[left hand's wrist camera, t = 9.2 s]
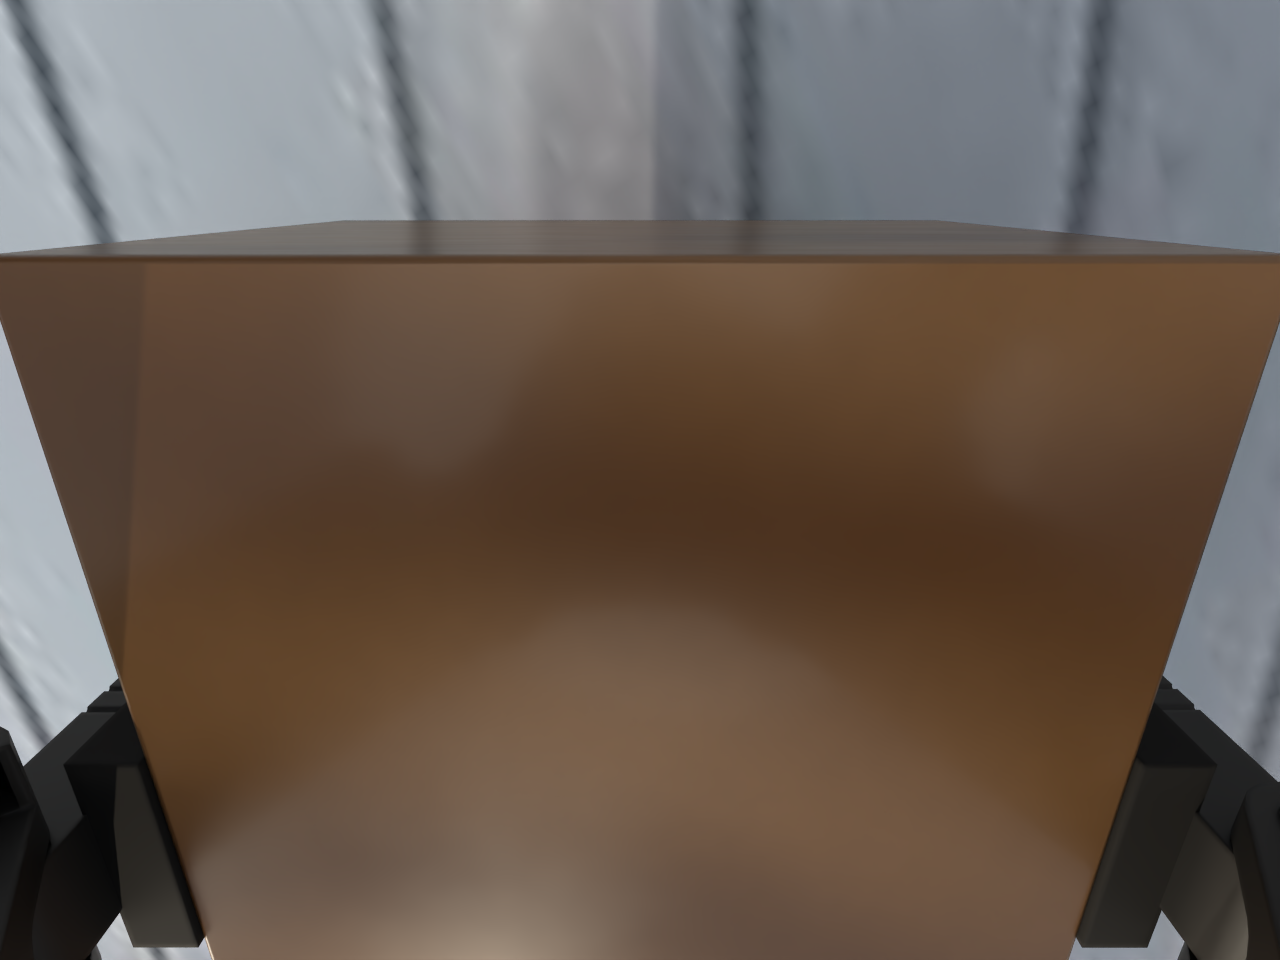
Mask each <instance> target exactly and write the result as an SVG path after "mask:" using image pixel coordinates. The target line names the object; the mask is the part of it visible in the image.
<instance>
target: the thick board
mask: <svg viewBox="0 0 1280 960" xmlns="http://www.w3.org/2000/svg"><path fill="white" fill-rule="evenodd" d="M0 321H1V324H2V327H3V330H4V333H5V336H6V339H7V342H8V345H9V348H10V351H11V354H12V357H13V360H14V363H15V367H16V370H17V373H18V376H19V379H20V382H21V385H22V388H23V391H24V394H25V397H26V400H27V403H28V406H29V409H30V412H31V415H32V418H33V421H34V424H35V427H36V430H37V433H38V436H39V439H40V442H41V445H42V448H43V451H44V454H45V457H46V460H47V463H48V466H49V469H50V472H51V475H52V478H53V481H54V484H55V487H56V490H57V493H58V496H59V499H60V502H61V505H62V508H63V511H64V514H65V517H66V520H67V524H68V527H69V530H70V533H71V536H72V539H73V542H74V545H75V548H76V551H77V554H78V557H79V560H80V563H81V566H82V569H83V572H84V575H85V578H86V581H87V584H88V587H89V590H90V593H91V596H92V599H93V602H94V605H95V608H96V611H97V614H98V617H99V620H100V623H101V626H102V629H103V632H104V635H105V638H106V641H107V644H108V647H109V650H110V653H111V656H112V659H113V662H114V665H115V668H116V671H117V674H118V677H119V680H120V684H121V687H122V690H123V693H124V696H125V699H126V702H127V705H128V708H129V711H130V714H131V717H132V720H133V723H134V726H135V729H136V732H137V735H138V738H139V741H140V744H141V747H142V750H143V753H144V756H145V759H146V762H147V765H148V768H149V771H150V774H151V777H152V780H153V783H154V786H155V789H156V792H157V795H158V798H159V801H160V804H161V807H162V810H163V813H164V816H165V819H166V822H167V825H168V828H169V831H170V834H171V837H172V841H173V844H174V847H175V850H176V853H177V856H178V859H179V862H180V865H181V868H182V871H183V874H184V877H185V880H186V883H187V886H188V889H189V892H190V895H191V898H192V901H193V904H194V907H195V910H196V913H197V916H198V919H199V922H200V925H201V928H202V931H203V934H204V937H205V940H206V943H207V946H208V949H209V952H210V955H211V958H212V960H1068V959H1069V956H1070V953H1071V950H1072V947H1073V944H1074V941H1075V938H1076V935H1077V932H1078V929H1079V926H1080V923H1081V920H1082V917H1083V914H1084V911H1085V908H1086V905H1087V902H1088V899H1089V896H1090V893H1091V890H1092V887H1093V884H1094V881H1095V878H1096V875H1097V872H1098V869H1099V866H1100V863H1101V860H1102V857H1103V854H1104V851H1105V848H1106V845H1107V842H1108V839H1109V836H1110V833H1111V830H1112V826H1113V823H1114V820H1115V817H1116V814H1117V811H1118V808H1119V805H1120V802H1121V799H1122V796H1123V793H1124V790H1125V787H1126V784H1127V781H1128V778H1129V775H1130V772H1131V769H1132V766H1133V763H1134V760H1135V757H1136V754H1137V751H1138V748H1139V745H1140V742H1141V739H1142V736H1143V733H1144V730H1145V727H1146V724H1147V721H1148V718H1149V715H1150V712H1151V709H1152V706H1153V703H1154V700H1155V697H1156V694H1157V691H1158V688H1159V685H1160V682H1161V679H1162V675H1163V672H1164V669H1165V666H1166V663H1167V660H1168V657H1169V654H1170V651H1171V648H1172V645H1173V642H1174V639H1175V636H1176V633H1177V630H1178V627H1179V624H1180V621H1181V618H1182V615H1183V612H1184V609H1185V606H1186V603H1187V600H1188V597H1189V594H1190V591H1191V588H1192V585H1193V582H1194V579H1195V576H1196V573H1197V570H1198V567H1199V564H1200V561H1201V558H1202V555H1203V552H1204V549H1205V546H1206V543H1207V540H1208V537H1209V534H1210V531H1211V528H1212V524H1213V521H1214V518H1215V515H1216V512H1217V509H1218V506H1219V503H1220V500H1221V497H1222V494H1223V491H1224V488H1225V485H1226V482H1227V479H1228V476H1229V473H1230V470H1231V467H1232V464H1233V461H1234V458H1235V455H1236V452H1237V449H1238V446H1239V443H1240V440H1241V437H1242V434H1243V431H1244V428H1245V425H1246V422H1247V419H1248V416H1249V413H1250V410H1251V407H1252V404H1253V401H1254V398H1255V395H1256V392H1257V389H1258V386H1259V383H1260V380H1261V376H1262V373H1263V370H1264V367H1265V364H1266V361H1267V358H1268V355H1269V352H1270V349H1271V346H1272V343H1273V340H1274V337H1275V334H1276V331H1277V328H1278V325H1279V322H1280V253H1271V252H1260V251H1250V250H1239V249H1229V248H1219V247H1208V246H1198V245H1187V244H1177V243H1166V242H1156V241H1145V240H1135V239H1125V238H1114V237H1104V236H1093V235H1083V234H1072V233H1062V232H1051V231H1041V230H1031V229H1020V228H1010V227H999V226H989V225H978V224H968V223H957V222H947V221H936V220H419V221H334V222H324V223H313V224H303V225H292V226H282V227H272V228H261V229H251V230H241V231H230V232H220V233H209V234H199V235H189V236H178V237H168V238H157V239H147V240H137V241H126V242H116V243H105V244H95V245H85V246H74V247H64V248H54V249H43V250H33V251H22V252H12V253H2V254H0Z"/></svg>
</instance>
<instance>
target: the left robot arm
mask: <svg viewBox="0 0 1280 960" xmlns="http://www.w3.org/2000/svg"><path fill="white" fill-rule="evenodd" d="M87 708H88V709H87V712H82V713H80V714H79V715H78V716H77V717H76V718H75V719H74V720H73V721H72V722H71V723H70V724H69V725H68V726H66V727H65V728H64V729H63V730H62V731H61V732H60V733H59V734H58V735H57V736H56V737H55V738H54V739H52V740H51V741H50V742H49V743H48V744H47V745H46V746H45V747H44V748H43V749H42V750H41V751H40V752H39V753H37V754H36V755H35V756H34V757H33V758H32V759H31V760H30V761H29V762H28V763H27V764H26V765H25V766H23V765H22V763H21V760H20V758H19V755H18V753H17V750H16V748H15V746H14V743H13V741H12V738H11V736H10V733H9V731H8V730H6V729H4V728H2V727H0V960H102V959H101V955H100V952H99V950H98V947H97V943H98V942H99V940H100V939H101V938H102V936H103V935H104V934H105V932H106V931H107V929H108V928H109V927H110V925H111V924H112V922H113V921H114V920H115V918H116V917H117V916H118V914H119V913H120V914H121V917H122V919H123V922H124V924H125V927H126V930H127V932H128V935H129V937H130V940H131V943H132V945H133V947H199V946H200V944H201V942H202V940H203V939H204V934H203V931H202V928H201V925H200V922H199V919H198V916H197V913H196V910H195V907H194V904H193V901H192V898H191V895H190V892H189V889H188V886H187V883H186V880H185V877H184V874H183V871H182V868H181V865H180V862H179V859H178V856H177V853H176V850H175V847H174V844H173V841H172V837H171V834H170V831H169V828H168V825H167V822H166V819H165V816H164V813H163V810H162V807H161V804H160V801H159V798H158V795H157V792H156V789H155V786H154V783H153V780H152V777H151V774H150V771H149V768H148V765H147V762H146V759H145V756H144V753H143V750H142V747H141V744H140V741H139V738H138V735H137V732H136V729H135V726H134V723H133V720H132V717H131V714H130V711H129V708H128V705H127V702H126V699H125V696H124V693H123V690H122V687H121V684H120V680H119V678H118V679H117V680H116V681H115V682H114V683H113V684H112V685H111V686H110V689H109V691H104V692H103V693H102V694H101V695H100V696H99V697H98V698H97V699H96V700H94V701H93V702H92V703H91V704H90V705H89V706H88V707H87ZM1161 910H1162V911H1163V912H1164V914H1165V915H1166V917H1167V918H1168V919H1169V921H1170V922H1171V923H1172V925H1173V926H1174V928H1175V929H1176V930H1177V932H1178V933H1179V934H1180V936H1181V937H1182V938H1183V940H1184V941H1185V942H1184V945H1183V947H1182V950H1181V952H1180V955H1179V957H1178V959H1177V960H1280V782H1277V781H1276V780H1275V779H1274V778H1273V777H1272V776H1271V775H1270V774H1269V773H1268V772H1267V771H1266V770H1264V769H1263V768H1262V767H1261V766H1260V765H1259V764H1258V763H1257V762H1256V761H1255V760H1254V759H1252V758H1251V757H1250V756H1249V755H1248V754H1247V753H1246V752H1245V751H1244V750H1243V749H1242V748H1241V747H1239V746H1238V745H1237V744H1236V743H1235V742H1234V741H1233V740H1232V739H1231V738H1230V737H1229V736H1228V735H1226V734H1225V733H1224V732H1223V731H1222V730H1221V729H1220V728H1219V727H1218V726H1217V725H1216V724H1215V723H1213V722H1212V721H1211V720H1210V719H1209V718H1208V717H1207V716H1206V715H1205V714H1204V713H1203V712H1202V711H1200V710H1195V709H1194V704H1193V703H1192V702H1191V701H1190V700H1189V699H1187V698H1186V697H1185V696H1184V695H1183V694H1182V693H1181V692H1180V691H1179V690H1178V689H1173V688H1172V684H1171V683H1170V682H1169V681H1168V680H1167V679H1166V678H1165V677H1164V676H1163V675H1162V679H1161V682H1160V685H1159V688H1158V691H1157V694H1156V697H1155V700H1154V703H1153V706H1152V709H1151V712H1150V715H1149V718H1148V721H1147V724H1146V727H1145V730H1144V733H1143V736H1142V739H1141V742H1140V745H1139V748H1138V751H1137V754H1136V757H1135V760H1134V763H1133V766H1132V769H1131V772H1130V775H1129V778H1128V781H1127V784H1126V787H1125V790H1124V793H1123V796H1122V799H1121V802H1120V805H1119V808H1118V811H1117V814H1116V817H1115V820H1114V823H1113V826H1112V830H1111V833H1110V836H1109V839H1108V842H1107V845H1106V848H1105V851H1104V854H1103V857H1102V860H1101V863H1100V866H1099V869H1098V872H1097V875H1096V878H1095V881H1094V884H1093V887H1092V890H1091V893H1090V896H1089V899H1088V902H1087V905H1086V908H1085V911H1084V914H1083V917H1082V920H1081V923H1080V926H1079V929H1078V932H1077V935H1076V938H1077V940H1078V941H1079V943H1080V945H1081V946H1082V948H1147V947H1148V944H1149V942H1150V939H1151V936H1152V934H1153V931H1154V929H1155V926H1156V923H1157V921H1158V918H1159V916H1160V913H1161Z"/></svg>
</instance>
